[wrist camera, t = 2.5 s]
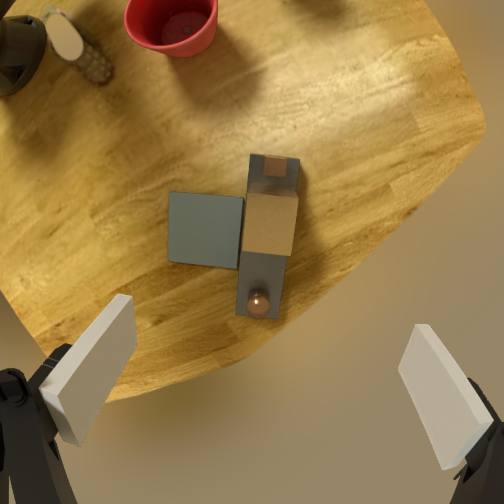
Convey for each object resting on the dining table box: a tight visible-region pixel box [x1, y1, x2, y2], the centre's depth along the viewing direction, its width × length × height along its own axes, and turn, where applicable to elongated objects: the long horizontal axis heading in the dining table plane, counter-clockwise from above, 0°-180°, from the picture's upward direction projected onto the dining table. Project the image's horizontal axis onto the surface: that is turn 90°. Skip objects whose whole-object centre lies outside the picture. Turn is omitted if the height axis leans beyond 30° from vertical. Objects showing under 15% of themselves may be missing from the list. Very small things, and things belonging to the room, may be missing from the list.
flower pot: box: [124, 0, 218, 58], centre depth 30 cm, size 11×11×10 cm
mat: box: [168, 191, 243, 269], centre depth 43 cm, size 10×10×1 cm
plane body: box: [235, 153, 300, 319], centre depth 40 cm, size 22×6×7 cm, turn 174°
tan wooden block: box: [242, 183, 299, 256], centre depth 35 cm, size 6×5×8 cm
